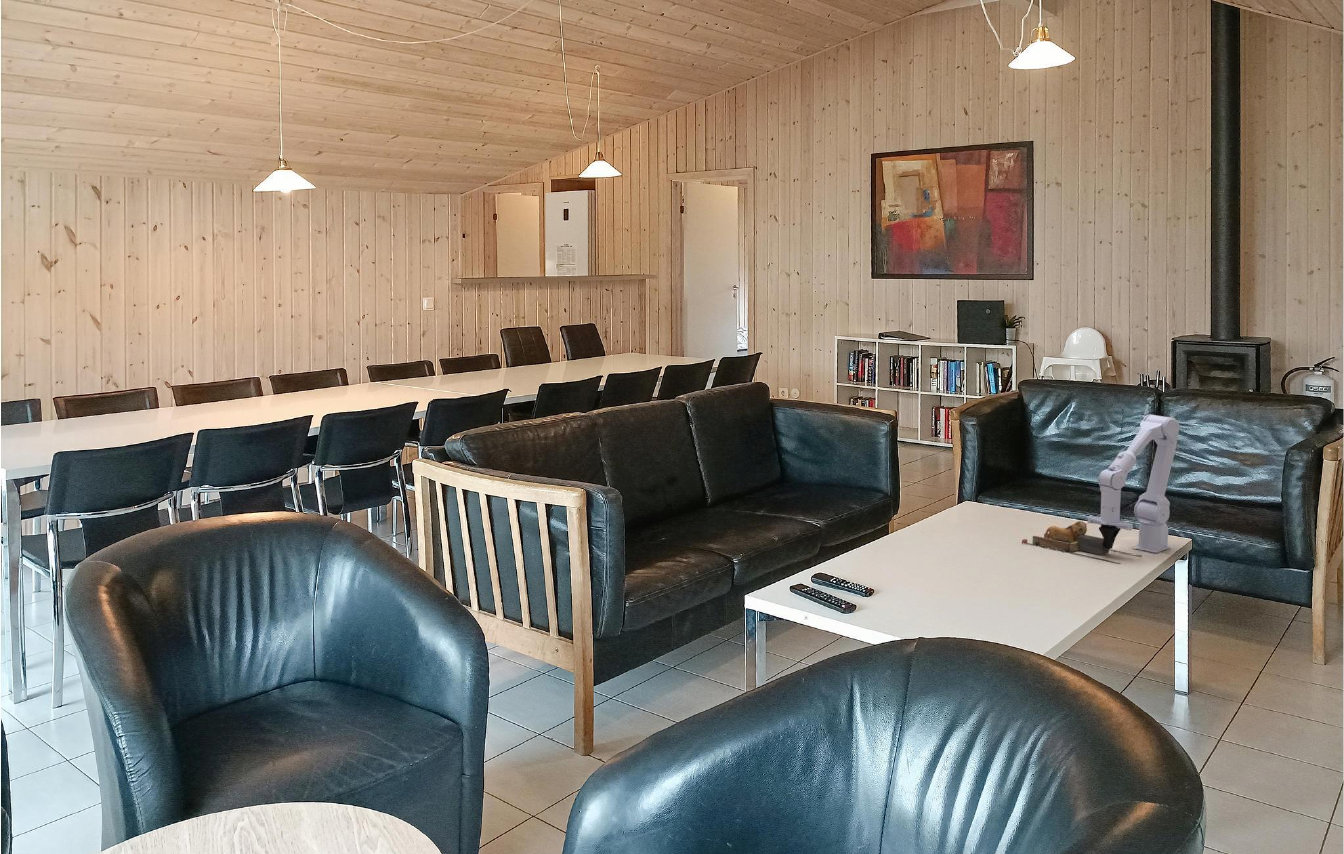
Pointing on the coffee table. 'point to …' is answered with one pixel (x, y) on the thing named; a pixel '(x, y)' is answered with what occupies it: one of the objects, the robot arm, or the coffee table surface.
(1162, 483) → the robot arm
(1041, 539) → the cart
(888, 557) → the coffee table surface
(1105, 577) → the coffee table surface
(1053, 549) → the rail track
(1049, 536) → the lion figurine
